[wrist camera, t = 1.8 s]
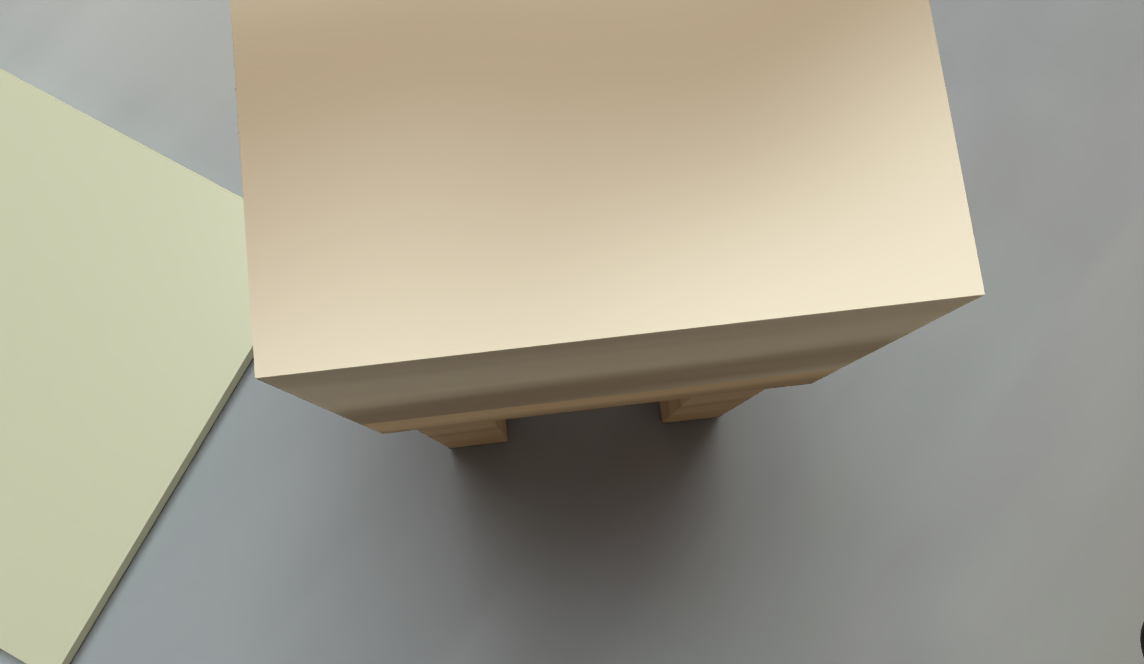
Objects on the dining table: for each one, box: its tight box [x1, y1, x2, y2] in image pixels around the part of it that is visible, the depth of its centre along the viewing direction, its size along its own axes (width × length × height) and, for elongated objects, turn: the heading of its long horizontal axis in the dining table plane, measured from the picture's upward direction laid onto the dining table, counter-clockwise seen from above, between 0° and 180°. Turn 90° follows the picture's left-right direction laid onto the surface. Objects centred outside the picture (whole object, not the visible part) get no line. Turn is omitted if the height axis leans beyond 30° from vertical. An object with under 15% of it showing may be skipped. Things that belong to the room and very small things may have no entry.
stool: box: [230, 0, 985, 448], centre depth 15 cm, size 5×6×13 cm
